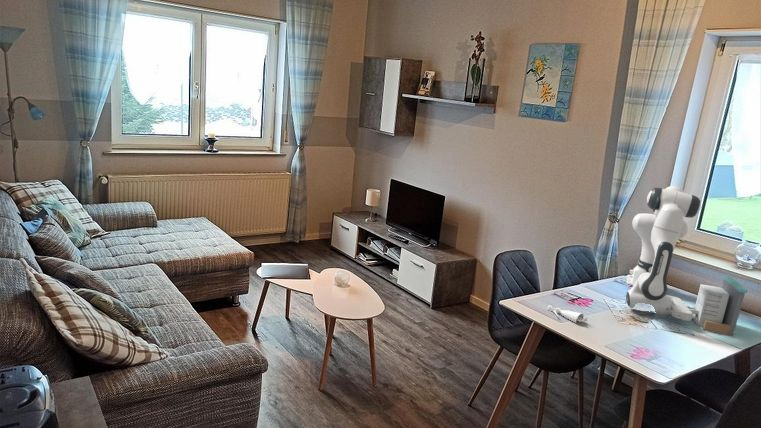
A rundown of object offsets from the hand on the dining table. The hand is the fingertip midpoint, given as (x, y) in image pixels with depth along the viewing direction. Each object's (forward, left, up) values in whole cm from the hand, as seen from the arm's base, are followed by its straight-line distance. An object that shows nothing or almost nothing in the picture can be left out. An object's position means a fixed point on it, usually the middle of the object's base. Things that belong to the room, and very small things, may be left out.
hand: (697, 311), depth 242 cm
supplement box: (0, +5, -5) cm, 7 cm away
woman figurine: (+24, -58, -5) cm, 63 cm away
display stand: (0, +7, -5) cm, 9 cm away
